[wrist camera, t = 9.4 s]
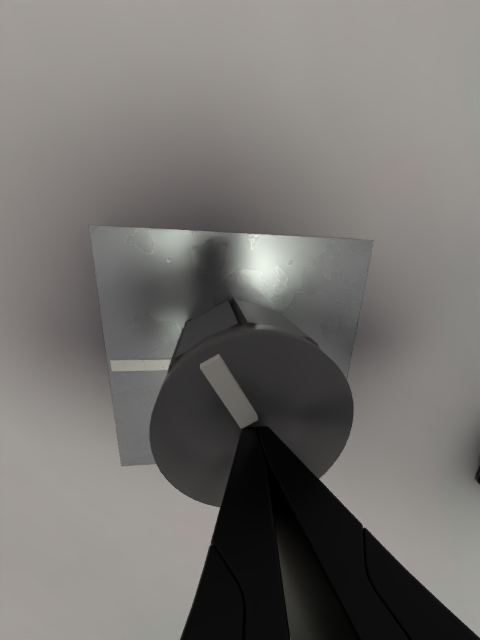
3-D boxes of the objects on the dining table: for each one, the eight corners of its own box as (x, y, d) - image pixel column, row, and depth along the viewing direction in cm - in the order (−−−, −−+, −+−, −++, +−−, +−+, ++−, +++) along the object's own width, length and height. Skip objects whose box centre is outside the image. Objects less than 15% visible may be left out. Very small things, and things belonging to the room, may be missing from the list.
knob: (315, 379, 13) (382, 456, 8) (214, 433, 13) (218, 544, 8) (265, 276, 11) (312, 293, 6) (147, 342, 11) (96, 413, 6)
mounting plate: (360, 241, 12) (454, 234, 7) (325, 439, 16) (373, 519, 11) (99, 227, 10) (8, 207, 6) (127, 451, 14) (84, 550, 9)
